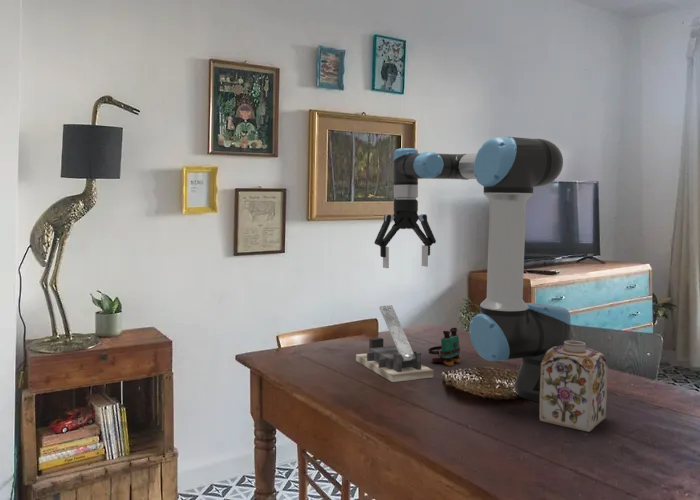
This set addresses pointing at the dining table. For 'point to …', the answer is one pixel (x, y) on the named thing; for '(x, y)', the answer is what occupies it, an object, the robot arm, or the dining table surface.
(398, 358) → the heatsink mount
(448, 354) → the binoculars
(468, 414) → the dining table surface
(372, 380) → the dining table surface
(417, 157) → the robot arm
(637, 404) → the dining table surface
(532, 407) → the dining table surface
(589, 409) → the decorative jar
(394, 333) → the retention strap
